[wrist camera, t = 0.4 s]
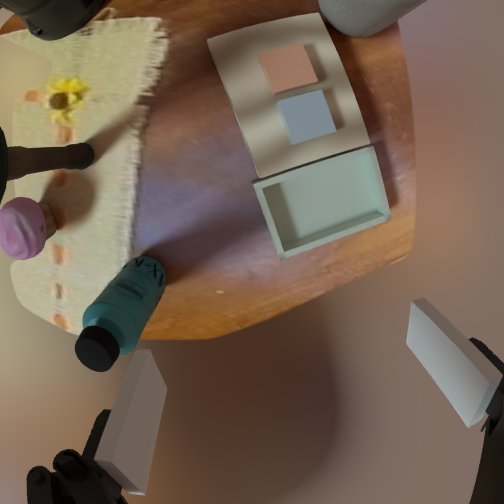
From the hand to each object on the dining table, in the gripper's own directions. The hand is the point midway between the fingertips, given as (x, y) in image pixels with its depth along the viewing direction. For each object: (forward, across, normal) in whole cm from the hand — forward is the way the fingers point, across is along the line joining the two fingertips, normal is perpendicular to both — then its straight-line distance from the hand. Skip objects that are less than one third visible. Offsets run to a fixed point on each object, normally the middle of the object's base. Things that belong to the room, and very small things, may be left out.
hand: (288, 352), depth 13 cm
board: (+28, +7, +16) cm, 32 cm away
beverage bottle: (+28, -16, -5) cm, 32 cm away
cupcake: (+28, -31, +7) cm, 42 cm away
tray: (+27, +9, +2) cm, 29 cm away
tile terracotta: (+22, +6, +18) cm, 29 cm away
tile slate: (+22, +7, +12) cm, 26 cm away
